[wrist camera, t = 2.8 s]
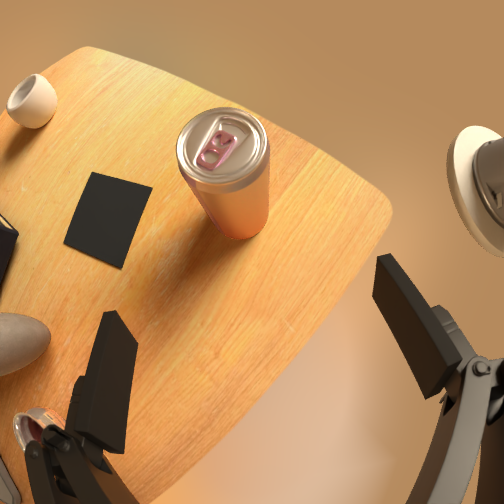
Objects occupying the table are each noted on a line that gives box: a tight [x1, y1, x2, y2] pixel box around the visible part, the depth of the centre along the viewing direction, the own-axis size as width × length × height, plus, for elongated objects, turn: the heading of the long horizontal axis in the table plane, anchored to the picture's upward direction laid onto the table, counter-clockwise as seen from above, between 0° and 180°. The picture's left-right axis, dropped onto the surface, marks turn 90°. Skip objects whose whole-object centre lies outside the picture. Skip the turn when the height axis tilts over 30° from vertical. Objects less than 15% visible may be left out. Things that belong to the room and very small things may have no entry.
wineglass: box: [13, 406, 66, 453], centre depth 22 cm, size 7×7×12 cm
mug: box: [6, 74, 58, 128], centre depth 33 cm, size 12×8×8 cm
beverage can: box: [176, 107, 270, 239], centre depth 24 cm, size 6×6×15 cm
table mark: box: [64, 172, 153, 268], centre depth 32 cm, size 10×10×1 cm
